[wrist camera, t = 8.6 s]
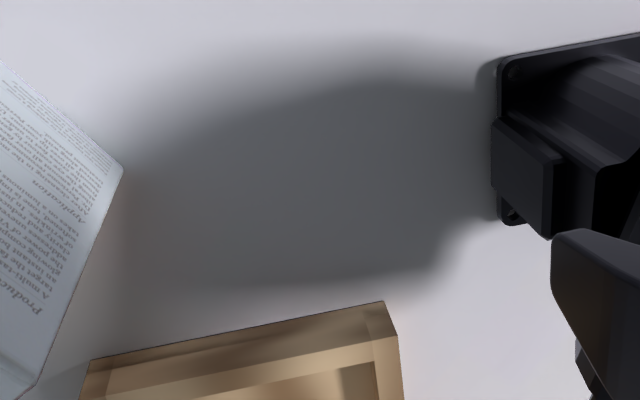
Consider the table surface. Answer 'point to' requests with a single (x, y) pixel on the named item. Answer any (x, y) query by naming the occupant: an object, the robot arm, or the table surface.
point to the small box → (43, 224)
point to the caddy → (264, 363)
